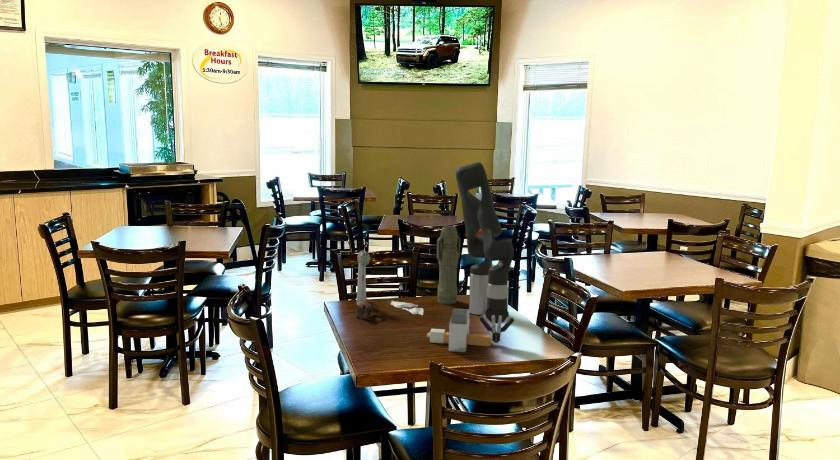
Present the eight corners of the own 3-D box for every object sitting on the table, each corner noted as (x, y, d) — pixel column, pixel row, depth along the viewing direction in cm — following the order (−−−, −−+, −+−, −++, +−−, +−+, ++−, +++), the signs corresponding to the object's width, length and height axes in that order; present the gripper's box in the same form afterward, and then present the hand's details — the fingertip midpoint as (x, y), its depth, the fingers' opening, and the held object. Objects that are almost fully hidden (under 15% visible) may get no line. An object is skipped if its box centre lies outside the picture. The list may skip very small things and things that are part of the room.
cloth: (435, 316, 267) (435, 310, 267) (405, 318, 262) (405, 313, 261) (411, 301, 291) (411, 296, 290) (383, 303, 285) (383, 298, 285)
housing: (468, 335, 239) (469, 301, 238) (465, 352, 220) (466, 316, 218) (453, 334, 240) (454, 300, 238) (448, 351, 221) (449, 315, 219)
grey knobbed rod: (365, 304, 281) (365, 248, 278) (370, 307, 275) (371, 251, 272) (354, 305, 279) (354, 249, 276) (359, 308, 273) (359, 252, 270)
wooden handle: (490, 343, 230) (491, 332, 230) (490, 346, 226) (490, 335, 226) (428, 338, 234) (428, 328, 233) (426, 342, 230) (426, 331, 229)
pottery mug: (353, 314, 265) (362, 296, 266) (373, 324, 266) (382, 306, 267) (354, 316, 253) (363, 297, 254) (375, 326, 254) (384, 307, 255)
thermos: (430, 302, 287) (432, 226, 282) (450, 298, 295) (452, 224, 290) (443, 306, 280) (445, 228, 276) (463, 302, 288) (465, 226, 283)
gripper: (515, 294, 229) (514, 340, 231) (479, 292, 230) (477, 338, 233) (516, 299, 221) (514, 346, 224) (478, 297, 223) (477, 344, 225)
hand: (495, 342), depth 228 cm, fingers closed
